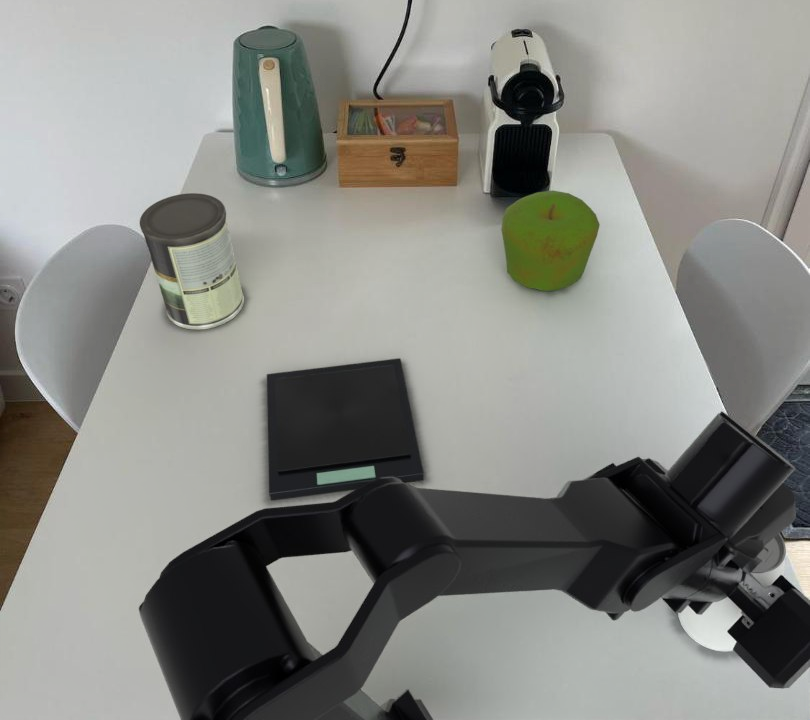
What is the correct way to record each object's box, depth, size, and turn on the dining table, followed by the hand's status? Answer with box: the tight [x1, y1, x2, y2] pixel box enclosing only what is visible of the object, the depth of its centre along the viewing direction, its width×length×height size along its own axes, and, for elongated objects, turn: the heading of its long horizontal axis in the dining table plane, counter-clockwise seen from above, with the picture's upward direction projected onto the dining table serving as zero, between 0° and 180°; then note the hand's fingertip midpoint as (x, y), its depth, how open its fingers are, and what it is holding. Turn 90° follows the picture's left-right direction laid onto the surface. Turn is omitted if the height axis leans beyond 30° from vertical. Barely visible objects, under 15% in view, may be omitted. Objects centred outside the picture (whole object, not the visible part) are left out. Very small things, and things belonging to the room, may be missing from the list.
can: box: [677, 532, 787, 653], centre depth 68 cm, size 6×6×12 cm
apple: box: [501, 190, 600, 292], centre depth 106 cm, size 12×12×11 cm
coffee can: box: [139, 192, 245, 331], centre depth 103 cm, size 10×10×14 cm
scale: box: [266, 357, 425, 501], centre depth 90 cm, size 18×16×2 cm
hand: (743, 571), depth 68 cm, fingers closed on can, 6 cm apart
